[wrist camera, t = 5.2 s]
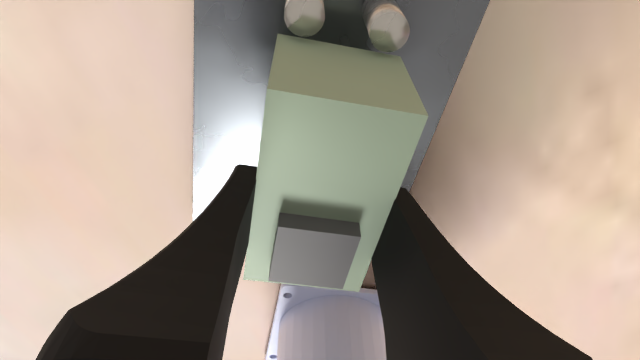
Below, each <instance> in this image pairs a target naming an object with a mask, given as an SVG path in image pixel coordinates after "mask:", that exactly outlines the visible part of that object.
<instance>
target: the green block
mask: <svg viewBox="0 0 640 360" xmlns="http://www.w3.org/2000/svg"><path fill="white" fill-rule="evenodd" d="M427 119H428V114H427V112H426V110H425V107H424V105H423V103H422V101H421V99H420V97H419V95H418V93H417V90H416V88H415V86H414V84H413V82H412V80H411V78H410V76H409V74H408V71H407V69H406V67H405V65H404V63H403V61H402V59H401V57H400V56H396V55H390V54H385V53H380V52H374V51H369V50H363V49H358V48H353V47H347V46H342V45H337V44H331V43H326V42H321V41H315V40H310V39H305V38H299V37H294V36H289V35H283V34H278V35H277V40H276V45H275V50H274V55H273V60H272V65H271V71H270V76H269V81H268V86H267V93H266V101H265V109H264V117H263V125H262V133H261V141H260V149H259V157H258V165H257V173H256V188H255V196H254V204H253V212H252V220H251V228H250V236H249V244H248V248H247V253H246V261H245V269H244V278H243V279H244V280H253V281H263V282H272V283H281V284H290V285H300V286H309V287H318V288H327V289H337V290H346V291H355V292H359V290H360V288H361V285H362V283H363V280H364V278H365V275H366V273H367V270H368V268H369V265H370V263H371V258H372V256H373V253H374V251H375V248H376V246H377V243H378V240H379V238H380V235H381V233H382V230H383V228H384V225H385V223H386V220H387V218H388V215H389V213H390V210H391V207H392V205H393V202H394V200H395V199H396V197H397V194H398V192H399V189H400V187H401V184H402V182H403V179H404V177H405V174H406V172H407V169H408V167H409V164H410V162H411V159H412V157H413V154H414V151H415V149H416V146H417V144H418V141H419V139H420V136H421V134H422V131H423V129H424V126H425V124H426V121H427Z"/></svg>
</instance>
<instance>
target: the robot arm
mask: <svg viewBox="0 0 640 360" xmlns="http://www.w3.org/2000/svg"><path fill="white" fill-rule="evenodd" d="M256 173H257V167H256V166H249V165H242V164H238V165H237V166H235V168H234V170H233V172H232V173H231V175H230V177H229V178H228V180H227V181H226V183H225V184H224V186H223V187H222V188H221V190H220V191H219V192H218V194H217V195H216V196H215V197H214V199H213V200H212V201H211V202H210V204H209V205H208V206H207V207H206V208H205V209H204V210H203V212H202V213H201V214H200V215H199V216H198V217H197V218H196V219H195V220H194V221H193V222H192V223H191V224H190V225H189V226H188V227H187V228H186V229H185V230H184V231H183V232H182V233H181V234H180V235H179V236H178V237H177V238H176V239H174V240H173V241H172V242H171V243H170V244H169V245H168V246H166V247H165V248H164V249H163V250H161V251H160V252H159V253H158V254H156V255H155V256H154V257H153V258H151V259H150V260H149V261H147V262H146V263H145V264H143V265H142V266H141V267H139V268H138V269H136V270H135V271H133V272H132V273H130V274H129V275H127V276H126V277H124V278H123V279H121V280H120V281H118V282H117V283H115V284H114V285H112V286H110V287H109V288H107V289H105V290H104V291H102V292H100V293H98V294H97V295H95V296H93V297H91V298H90V299H88V300H86V301H84V302H82V303H81V304H79V305H77V306H75V307H73V308H71V309H70V310H68V312H67V313H66V314H65V315H64V317H63V318H62V319H61V321H60V322H59V323H58V325H57V326H56V327H55V329H54V330H53V332H52V333H51V334H50V336H49V337H48V339H47V340H46V342H45V344H44V345H43V347H42V349H41V351H40V352H39V354H38V356H37V358H36V360H222V357H223V351H224V345H225V339H226V333H227V328H228V322H229V317H230V312H231V308H232V304H233V300H234V296H235V292H236V289H237V285H238V281H239V278H240V274H241V270H242V266H243V263H244V259H245V255H246V251H247V248H248V244H249V236H250V228H251V220H252V212H253V204H254V196H255V188H256ZM371 260H372V266H373V271H374V277H375V282H376V288H377V290H376V289H367V288H360V290H359V292H355V291H346V290H337V289H327V288H318V287H309V286H300V285H290V284H281V286H280V290H279V295H278V300H277V304H276V309H275V314H274V319H273V323H272V328H271V333H270V337H269V342H268V347H267V351H266V356H265V360H593V359H592V358H591V357H590V356H588V355H586V354H585V353H583V352H582V351H580V350H579V349H577V348H575V347H574V346H572V345H571V344H569V343H567V342H566V341H564V340H563V339H561V338H559V337H558V336H556V335H555V334H553V333H552V332H550V331H549V330H547V329H546V328H545V327H543V326H542V325H540V324H539V323H538V322H536V321H535V320H533V319H532V318H531V317H529V316H528V315H527V314H525V313H524V312H523V311H521V310H520V309H519V308H517V307H516V306H515V305H514V304H512V303H511V302H510V301H509V300H508V299H506V298H505V297H504V296H503V295H501V294H500V293H499V292H498V291H497V290H496V289H494V288H493V287H492V286H491V285H490V284H489V283H488V282H487V281H485V280H484V279H483V278H482V277H481V276H480V275H479V274H478V273H477V272H476V271H475V270H474V269H473V268H472V267H471V266H470V265H469V264H468V263H467V262H466V261H465V260H464V259H463V258H462V257H461V256H460V255H459V253H458V252H457V251H456V250H455V249H454V248H453V247H452V246H451V245H450V244H449V242H448V241H447V240H446V239H445V238H444V236H443V235H442V234H441V233H440V232H439V230H438V229H437V228H436V227H435V225H434V224H433V223H432V222H431V220H430V219H429V218H428V217H427V215H426V214H425V213H424V211H423V210H422V209H421V207H420V206H419V205H418V203H417V202H416V201H415V199H414V198H413V197H412V196H411V194H410V193H409V192H408V190H407V189H406V188H402V187H400V189H399V192H398V194H397V197H396V199H395V200H394V202H393V205H392V207H391V210H390V213H389V215H388V218H387V220H386V223H385V225H384V228H383V230H382V233H381V235H380V238H379V240H378V243H377V246H376V248H375V251H374V253H373V256H372V258H371Z"/></svg>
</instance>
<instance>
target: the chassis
mask: <svg viewBox="0 0 640 360" xmlns="http://www.w3.org/2000/svg"><path fill="white" fill-rule="evenodd" d="M489 1H490V0H194V124H193V221H194V220H195V219H196V218H197V217H198V216H199V215H200V214H201V213H202V212H203V210H204V209H205V208H206V207H207V206H208V205H209V204H210V202H211V201H212V200H213V199H214V197H215V196H216V195H217V194H218V192H219V191H220V190H221V188H222V187H223V186H224V184H225V183H226V181H227V180H228V178H229V177H230V175H231V173H232V172H233V170H234V168H235V166H237V165H238V164H242V165H249V166H256V167H257V165H258V157H259V149H260V141H261V133H262V125H263V117H264V109H265V101H266V93H267V86H268V81H269V76H270V71H271V65H272V60H273V55H274V50H275V45H276V40H277V35H278V34H283V35H289V36H294V37H299V38H305V39H310V40H315V41H321V42H326V43H331V44H337V45H342V46H347V47H353V48H358V49H363V50H369V51H374V52H380V53H385V54H390V55H396V56H400V57H401V59H402V61H403V63H404V65H405V67H406V69H407V71H408V74H409V76H410V78H411V80H412V82H413V84H414V86H415V88H416V90H417V93H418V95H419V97H420V99H421V101H422V103H423V105H424V107H425V110H426V112H427V114H428V119H427V121H426V124H425V126H424V129H423V131H422V134H421V136H420V139H419V141H418V144H417V146H416V149H415V151H414V154H413V157H412V159H411V162H410V164H409V167H408V169H407V172H406V174H405V177H404V179H403V182H402V184H401V187H402V188H406V189H407V190H408V192H409V191H410V189H411V187H412V184H413V182H414V180H415V177H416V175H417V172H418V170H419V168H420V165H421V163H422V161H423V158H424V156H425V153H426V151H427V149H428V146H429V144H430V141H431V139H432V137H433V134H434V132H435V130H436V127H437V125H438V122H439V120H440V118H441V115H442V113H443V111H444V108H445V106H446V103H447V101H448V99H449V96H450V94H451V92H452V89H453V87H454V84H455V82H456V80H457V77H458V75H459V73H460V70H461V68H462V65H463V63H464V61H465V58H466V56H467V54H468V51H469V49H470V46H471V44H472V42H473V39H474V37H475V35H476V32H477V30H478V27H479V25H480V23H481V20H482V18H483V16H484V13H485V11H486V8H487V6H488V4H489Z"/></svg>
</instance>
